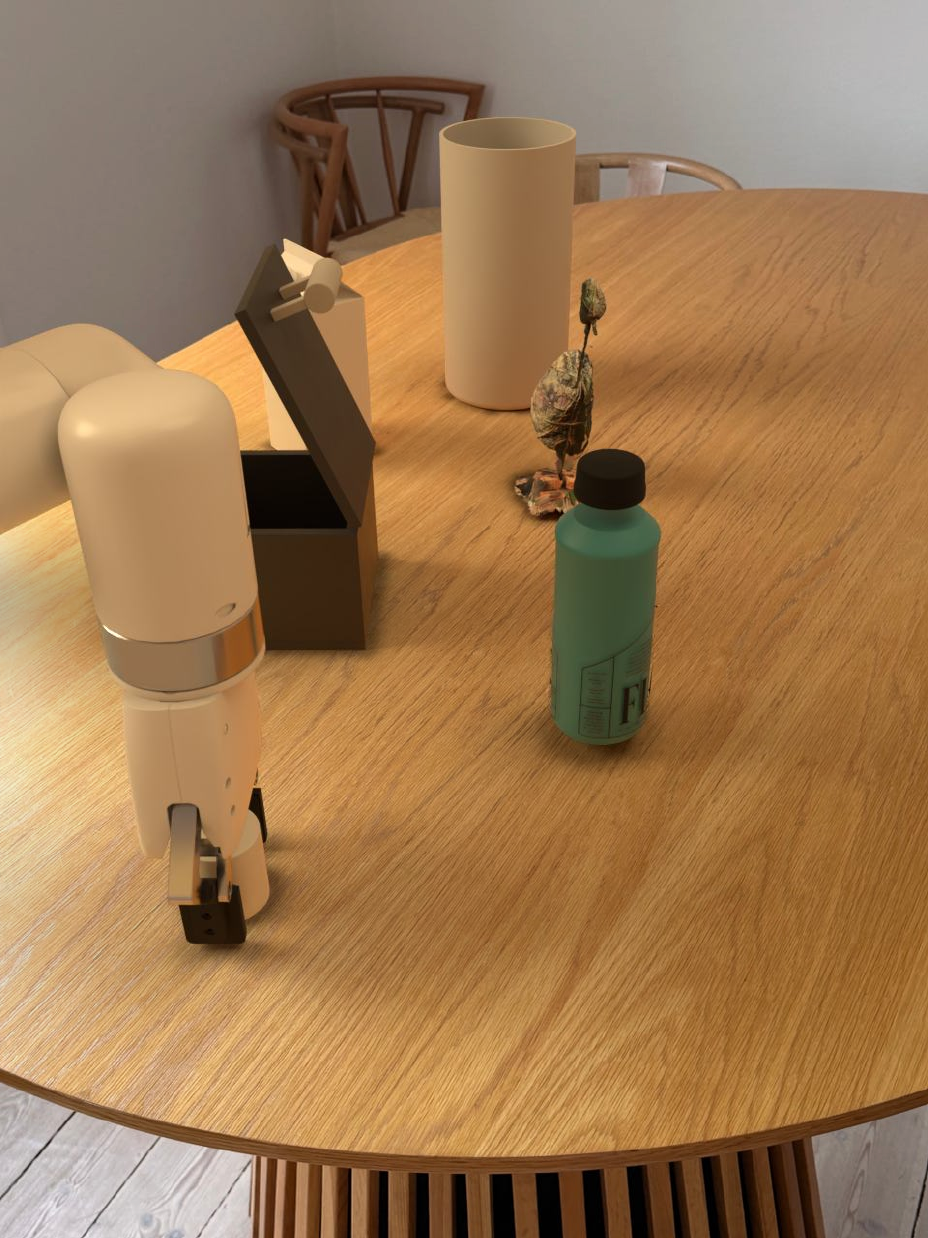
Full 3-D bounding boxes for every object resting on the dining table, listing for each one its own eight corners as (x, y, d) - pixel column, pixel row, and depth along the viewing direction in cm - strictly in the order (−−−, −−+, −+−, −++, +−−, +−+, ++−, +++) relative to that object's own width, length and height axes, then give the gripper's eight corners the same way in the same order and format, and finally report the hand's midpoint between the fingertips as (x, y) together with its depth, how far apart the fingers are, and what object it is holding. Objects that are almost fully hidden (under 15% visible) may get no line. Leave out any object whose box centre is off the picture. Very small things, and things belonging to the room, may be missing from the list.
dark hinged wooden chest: (151, 651, 88) (128, 534, 82) (186, 559, 98) (168, 450, 93) (365, 651, 88) (357, 534, 82) (378, 558, 98) (371, 449, 92)
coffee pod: (175, 898, 69) (161, 834, 66) (236, 855, 71) (225, 792, 68) (224, 938, 66) (212, 874, 63) (285, 892, 69) (276, 829, 66)
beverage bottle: (623, 777, 76) (646, 498, 65) (528, 745, 79) (534, 471, 68) (661, 719, 81) (689, 449, 70) (571, 690, 84) (583, 425, 72)
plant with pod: (610, 466, 111) (623, 247, 99) (600, 528, 102) (613, 295, 90) (522, 459, 112) (525, 243, 100) (504, 521, 103) (505, 290, 91)
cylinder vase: (458, 418, 119) (453, 153, 105) (435, 369, 129) (428, 121, 115) (581, 406, 121) (592, 144, 107) (549, 358, 131) (556, 113, 117)
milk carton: (334, 426, 118) (319, 230, 107) (374, 453, 113) (362, 250, 103) (270, 446, 115) (247, 246, 104) (308, 475, 110) (288, 268, 99)
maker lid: (233, 313, 73) (310, 281, 72) (264, 247, 84) (332, 218, 83) (351, 530, 82) (421, 505, 81) (366, 445, 92) (429, 422, 91)
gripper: (147, 536, 65) (193, 783, 76) (52, 748, 51) (125, 1017, 61) (286, 536, 65) (314, 783, 75) (229, 748, 51) (273, 1018, 61)
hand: (229, 886), depth 68 cm, fingers open, 6 cm apart
